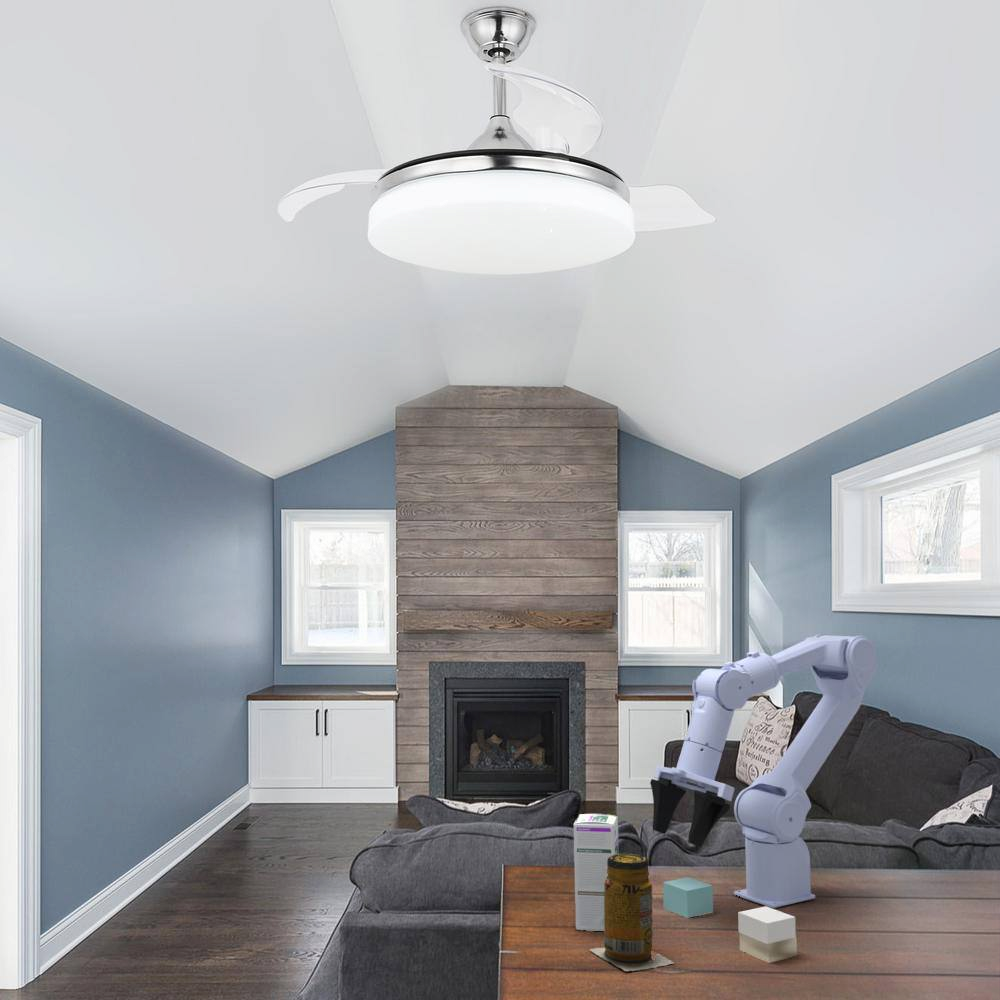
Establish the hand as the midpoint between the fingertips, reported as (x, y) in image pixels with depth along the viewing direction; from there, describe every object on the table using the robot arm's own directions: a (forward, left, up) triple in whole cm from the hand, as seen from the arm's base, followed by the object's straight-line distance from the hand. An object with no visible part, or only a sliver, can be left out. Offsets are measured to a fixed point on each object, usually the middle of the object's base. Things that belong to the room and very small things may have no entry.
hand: (676, 838), depth 141 cm
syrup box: (+13, -2, -11) cm, 17 cm away
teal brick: (-2, 0, -11) cm, 11 cm away
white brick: (+1, +18, -8) cm, 20 cm away
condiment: (+17, +10, -11) cm, 22 cm away
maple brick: (+1, +18, -11) cm, 21 cm away
